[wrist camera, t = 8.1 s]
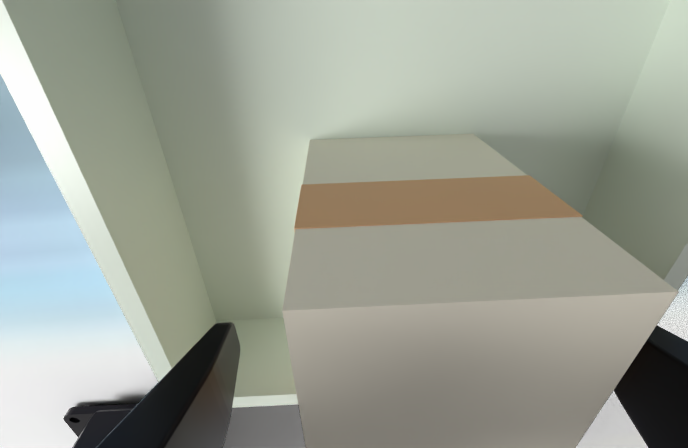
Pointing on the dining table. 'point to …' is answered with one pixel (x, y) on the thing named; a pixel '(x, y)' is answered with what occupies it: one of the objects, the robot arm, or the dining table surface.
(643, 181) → the tote
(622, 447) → the dining table surface
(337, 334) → the taped carton
